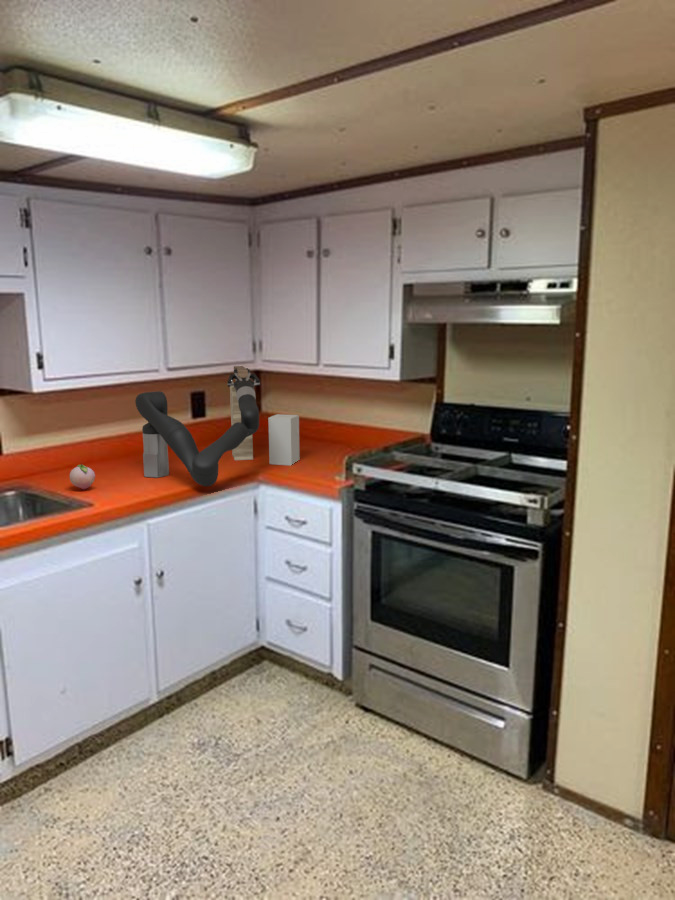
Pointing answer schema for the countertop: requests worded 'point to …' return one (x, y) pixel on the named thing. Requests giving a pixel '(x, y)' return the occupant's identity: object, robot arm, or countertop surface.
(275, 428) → the short block
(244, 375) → the long wooden bar
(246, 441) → the tall stand
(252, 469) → the countertop surface
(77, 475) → the decorative fruit
